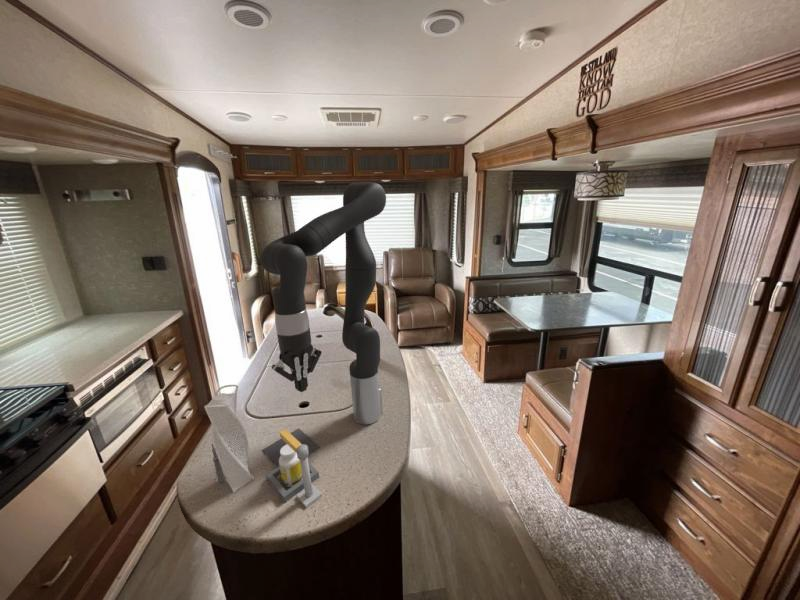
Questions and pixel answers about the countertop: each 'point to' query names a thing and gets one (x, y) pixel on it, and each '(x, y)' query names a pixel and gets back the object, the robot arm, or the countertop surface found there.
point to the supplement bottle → (289, 466)
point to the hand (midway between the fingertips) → (302, 390)
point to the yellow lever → (295, 444)
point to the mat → (275, 448)
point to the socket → (298, 484)
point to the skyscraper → (228, 442)
